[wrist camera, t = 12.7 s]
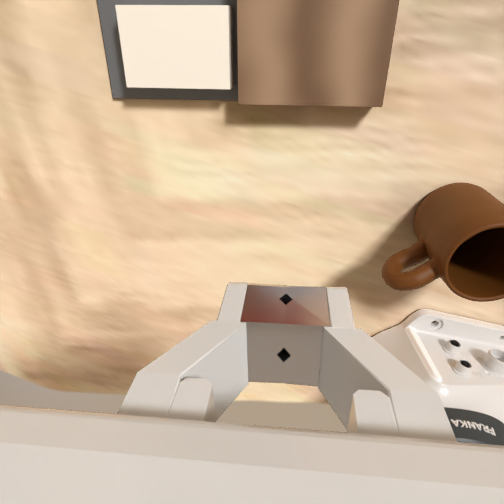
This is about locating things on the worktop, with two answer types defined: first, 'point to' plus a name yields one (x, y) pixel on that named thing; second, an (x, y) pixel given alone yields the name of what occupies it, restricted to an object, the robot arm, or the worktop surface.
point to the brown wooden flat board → (314, 51)
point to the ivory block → (176, 46)
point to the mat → (121, 90)
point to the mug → (455, 244)
